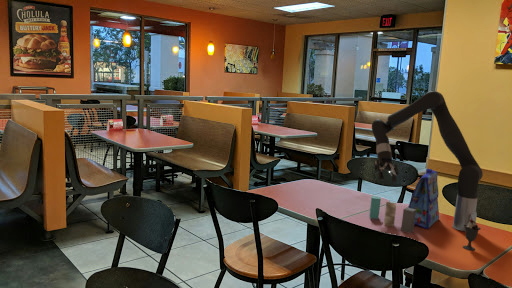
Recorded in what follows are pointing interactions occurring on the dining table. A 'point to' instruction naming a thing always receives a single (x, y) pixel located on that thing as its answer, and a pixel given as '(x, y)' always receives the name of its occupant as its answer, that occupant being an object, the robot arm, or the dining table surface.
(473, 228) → the sundae
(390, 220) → the tan block
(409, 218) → the charcoal block
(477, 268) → the dining table surface
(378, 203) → the teal block
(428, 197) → the lunch bag
